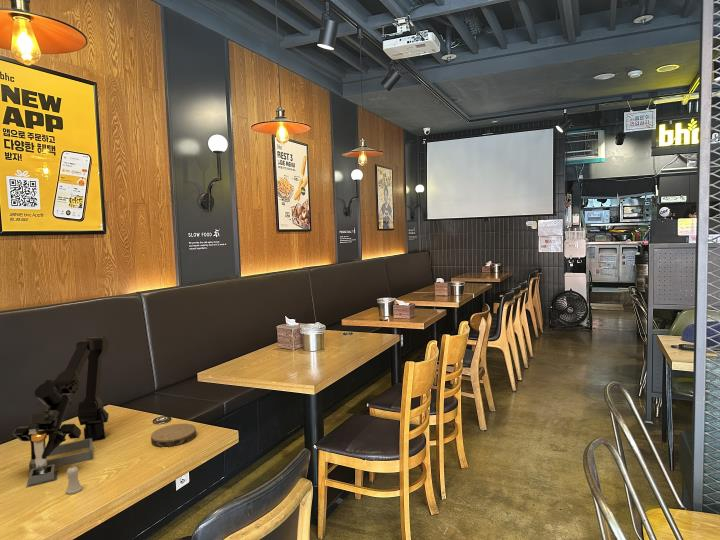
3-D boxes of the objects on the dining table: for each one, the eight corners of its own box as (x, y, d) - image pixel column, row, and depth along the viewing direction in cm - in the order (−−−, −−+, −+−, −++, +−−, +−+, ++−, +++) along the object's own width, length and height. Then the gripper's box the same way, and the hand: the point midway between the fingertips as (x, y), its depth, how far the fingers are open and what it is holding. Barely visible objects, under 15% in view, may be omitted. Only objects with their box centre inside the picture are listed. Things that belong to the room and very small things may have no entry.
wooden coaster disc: (169, 451, 170) (168, 443, 170) (142, 443, 179) (141, 435, 178) (205, 435, 184) (204, 427, 183) (178, 428, 192) (177, 421, 192)
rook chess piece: (70, 490, 145) (68, 465, 144) (85, 489, 145) (83, 464, 145) (62, 498, 140) (60, 472, 140) (78, 497, 141) (76, 471, 140)
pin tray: (92, 448, 175) (92, 437, 175) (93, 461, 164) (92, 450, 164) (34, 461, 166) (33, 450, 166) (30, 476, 155) (29, 464, 155)
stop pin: (50, 474, 154) (46, 430, 153) (49, 479, 151) (45, 434, 150) (35, 477, 152) (31, 433, 151) (34, 483, 149) (30, 437, 148)
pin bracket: (58, 473, 157) (57, 462, 157) (57, 483, 150) (56, 472, 150) (29, 479, 153) (28, 469, 153) (26, 490, 146) (25, 479, 146)
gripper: (14, 402, 153) (-8, 451, 143) (73, 399, 154) (56, 447, 144) (32, 417, 162) (12, 464, 151) (88, 414, 163) (72, 460, 152)
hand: (38, 459), depth 150 cm, fingers closed on stop pin, 3 cm apart
